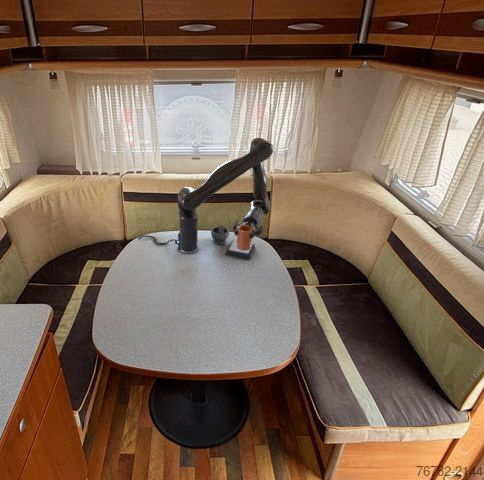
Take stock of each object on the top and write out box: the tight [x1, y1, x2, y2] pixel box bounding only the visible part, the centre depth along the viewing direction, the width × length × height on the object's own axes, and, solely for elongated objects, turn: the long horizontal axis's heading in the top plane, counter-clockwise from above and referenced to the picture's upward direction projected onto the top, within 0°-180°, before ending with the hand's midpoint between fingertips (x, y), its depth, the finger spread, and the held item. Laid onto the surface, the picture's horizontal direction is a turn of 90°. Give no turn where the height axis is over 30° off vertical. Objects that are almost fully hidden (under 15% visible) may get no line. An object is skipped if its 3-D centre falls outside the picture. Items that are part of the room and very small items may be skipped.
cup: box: [236, 225, 252, 251], centre depth 165 cm, size 6×6×10 cm
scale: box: [225, 239, 256, 261], centre depth 185 cm, size 12×12×3 cm
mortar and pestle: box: [210, 225, 230, 245], centre depth 191 cm, size 11×9×12 cm
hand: (243, 235), depth 162 cm, fingers closed on cup, 6 cm apart
